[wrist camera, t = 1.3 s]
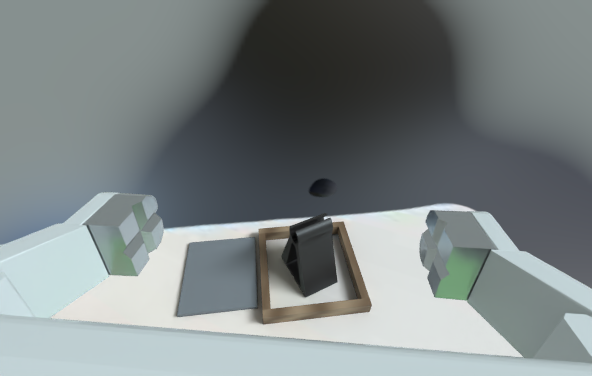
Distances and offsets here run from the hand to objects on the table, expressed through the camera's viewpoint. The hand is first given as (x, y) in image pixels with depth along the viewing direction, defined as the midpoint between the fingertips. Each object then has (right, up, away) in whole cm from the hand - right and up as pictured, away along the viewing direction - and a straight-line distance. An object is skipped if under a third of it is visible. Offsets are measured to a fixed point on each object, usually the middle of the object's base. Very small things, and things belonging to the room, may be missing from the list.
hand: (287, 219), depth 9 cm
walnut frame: (+2, -13, +44) cm, 46 cm away
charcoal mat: (-13, -14, +43) cm, 47 cm away
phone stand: (+2, -13, +44) cm, 46 cm away
